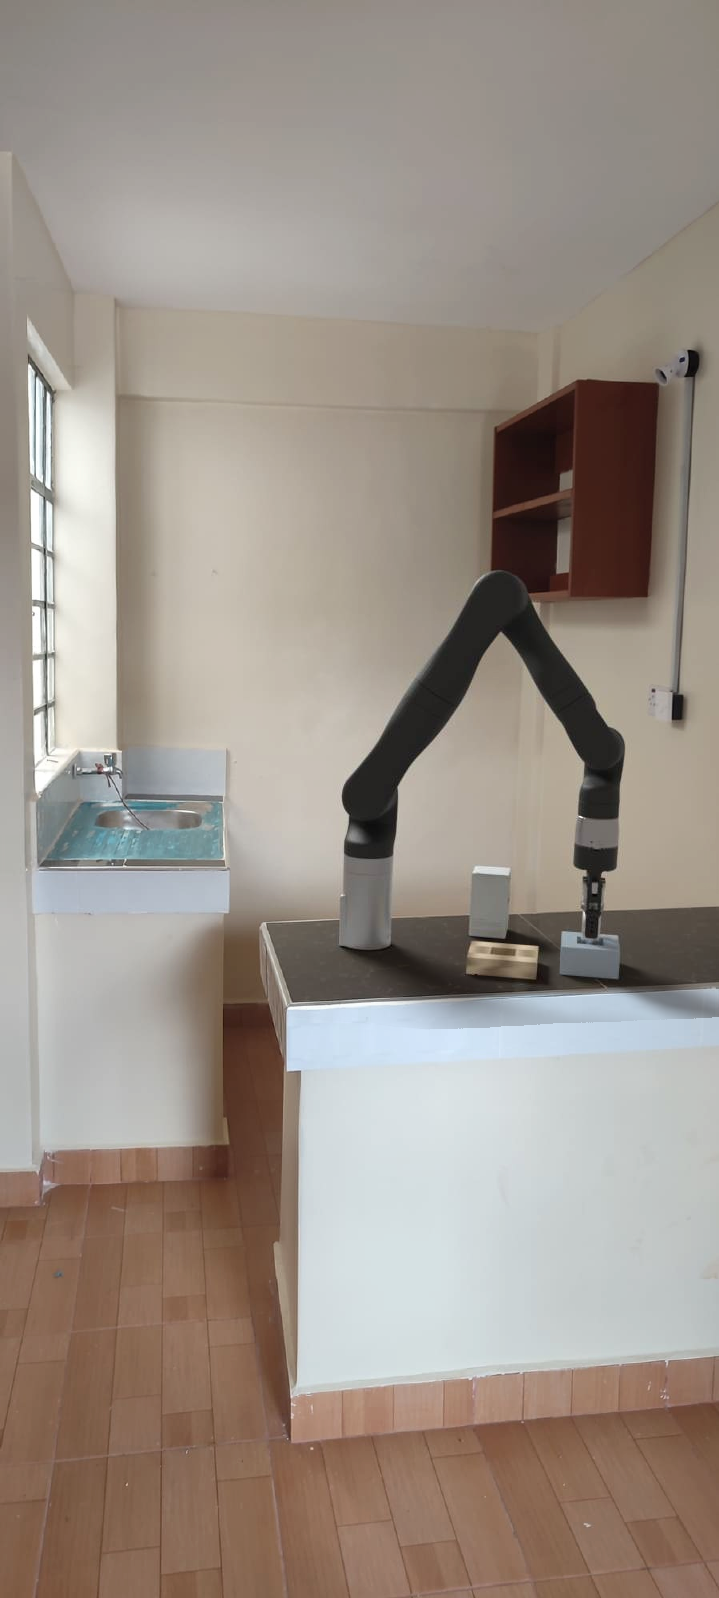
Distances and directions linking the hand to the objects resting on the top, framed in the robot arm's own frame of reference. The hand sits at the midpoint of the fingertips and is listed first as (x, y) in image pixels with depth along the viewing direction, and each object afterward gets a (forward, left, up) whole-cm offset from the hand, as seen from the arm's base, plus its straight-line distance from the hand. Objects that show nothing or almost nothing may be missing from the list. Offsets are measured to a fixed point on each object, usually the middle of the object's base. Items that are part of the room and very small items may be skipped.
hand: (590, 931), depth 201 cm
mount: (-15, -4, -7) cm, 17 cm away
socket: (0, 0, -7) cm, 7 cm away
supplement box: (-19, +18, -7) cm, 27 cm away
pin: (0, 0, -7) cm, 7 cm away
